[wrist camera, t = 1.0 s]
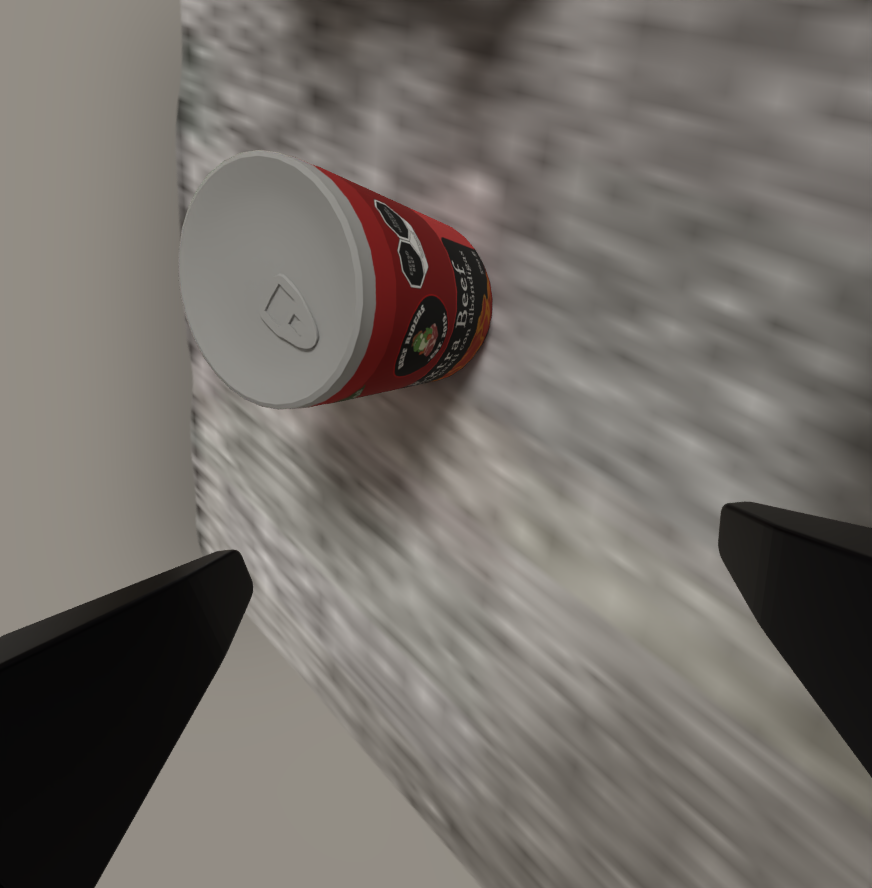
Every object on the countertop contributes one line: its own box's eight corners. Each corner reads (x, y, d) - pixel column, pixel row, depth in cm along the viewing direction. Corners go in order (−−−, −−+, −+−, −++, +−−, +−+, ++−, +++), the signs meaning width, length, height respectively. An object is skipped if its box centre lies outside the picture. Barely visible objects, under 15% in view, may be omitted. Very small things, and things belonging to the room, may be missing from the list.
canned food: (459, 407, 25) (317, 455, 15) (344, 337, 27) (158, 341, 17) (527, 261, 22) (404, 207, 12) (391, 197, 24) (197, 110, 14)
